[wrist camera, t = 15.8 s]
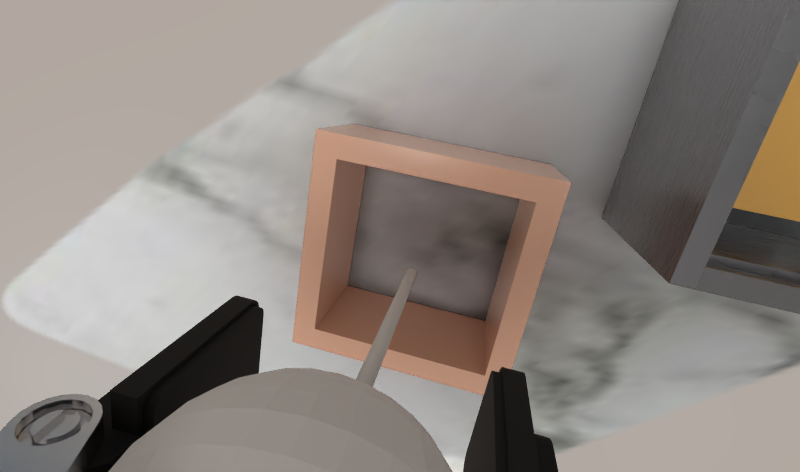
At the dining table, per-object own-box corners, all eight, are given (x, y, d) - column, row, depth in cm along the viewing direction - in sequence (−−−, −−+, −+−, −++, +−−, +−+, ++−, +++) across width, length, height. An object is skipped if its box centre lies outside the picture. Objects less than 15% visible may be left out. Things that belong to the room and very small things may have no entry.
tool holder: (551, 164, 20) (571, 182, 15) (498, 341, 23) (501, 400, 19) (353, 123, 21) (316, 128, 17) (329, 296, 25) (292, 341, 20)
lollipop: (374, 350, 19) (71, 1038, 5) (318, 234, 18) (-284, 708, 4) (507, 312, 17) (611, 1202, 3) (454, 180, 16) (265, 691, 2)
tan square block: (874, 77, 16) (981, 70, 13) (804, 212, 18) (881, 238, 15) (723, 53, 17) (784, 39, 14) (670, 185, 19) (712, 203, 15)
